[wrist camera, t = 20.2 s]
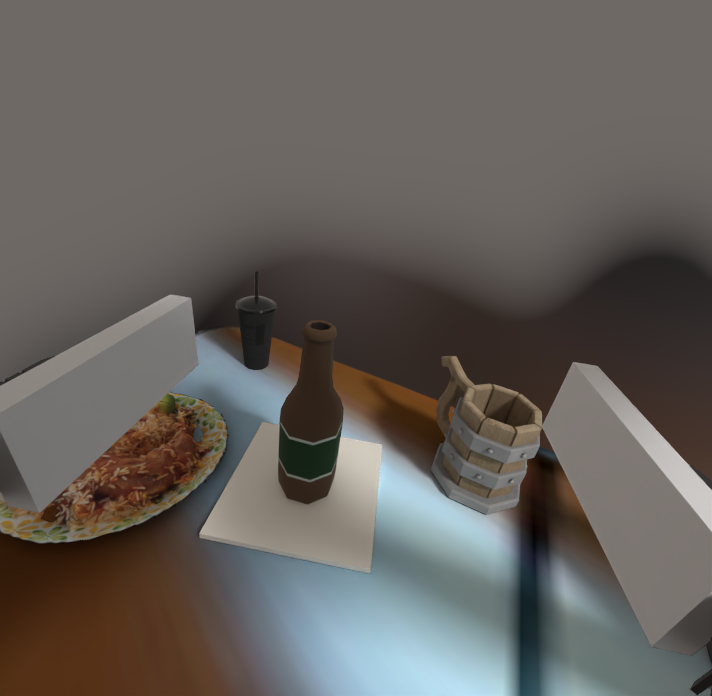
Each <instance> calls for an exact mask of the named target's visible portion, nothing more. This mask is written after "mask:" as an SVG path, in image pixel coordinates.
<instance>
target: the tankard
mask: <svg viewBox="0 0 712 696" xmlns="http://www.w3.org/2000/svg"><path fill="white" fill-rule="evenodd" d="M442 366H443V367H449V369H450V372H451V375H452V377H451V380H450V382H449V384H448V387H447V389H446V390H445V392H444V393H443V394H442V396H441V397H440V399H439V401H438V405H437V409H436V411H437V424H438V426H439V428H440V429H441V431H442V433H443V434H444V436H445V438H446V439H445V442H444V443H440V445H439V448H438V451H437V453H436V456H435V458H434V461H433V464H432V467H431V471H432V473H433V474H434V476H435V477H436V479H437V480H438V482H439V483H440V485H441V486H442V488H443V489H444V491H445V493H446V494H447V496H448V497H449V498H450V499H453V500H455V501H457V502H459V503H461V504H464V505H466V506H468V507H470V508H472V509H475V510H477V511H479V512H481V513H484V514H486V515H487V514H491V513H494V512H498V511H502V510H505V509H509V508H513V507H516V505H517V503H518V501H519V490H520V483H521V482H522V480H523V478H524V476H525V474H526V468H527V459H530V458H534V456H535V454H536V452H537V450H538V448H539V446H540V432H541V429H542V412H541V411H540V409H538V408H537V407H536V406H535V405H534V404H532V403H531V402H530V401H529V400H528V399H526V398H525V397H524V396H523V395H521V394H520V395H518V394H519V393H518V392H515V391H512V390H509V389H506V388H503V387H500V386H497V385H494V384H492V385H491V384H484V385H474V384H473V383H472V382H471V381H470V380H469V379H467V377H466V375H465V373H464V371H463V369H462V368H461V365H460V363H459V361H458V359H457V357H456V356H445V357H442ZM461 389H462V390H463V391H464V392H465V396H464V397H461V398H460V399H459V401H458V404H457V407H456V409H453V413H454V415H453V418H452V421H451V424H450V422H449V416H448V412H449V409H450V406H451V405H452V403H453V402H454V401H455V400H456V399H457V397H458V396H459V393H460V391H461Z"/></svg>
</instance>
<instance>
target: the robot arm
mask: <svg viewBox="0 0 712 696" xmlns="http://www.w3.org/2000/svg"><path fill="white" fill-rule="evenodd" d="M197 365H198V356H197V347H196V338H195V331H194V321H193V312H192V303H191V298H187V297H182V296H176V295H169V296H167V297H165V298H163V299H161V300H159V301H157V302H156V303H154V304H152V305H150V306H148V307H146V308H144V309H143V310H141V311H139V312H137V313H135V314H133V315H131V316H130V317H128V318H126V319H124V320H122V321H120V322H118V323H117V324H115V325H113V326H111V327H109V328H107V329H105V330H103V331H102V332H100V333H98V334H96V335H94V336H92V337H90V338H89V339H87V340H85V341H83V342H81V343H79V344H77V345H76V346H74V347H72V348H70V349H68V350H66V351H65V352H63V353H61V354H59V355H56V356H53V357H50V358H47V359H44V360H41V361H39V362H37V363H35V364H34V365H32V366H30V367H28V368H26V369H24V370H22V373H17V374H15V375H13V376H11V377H9V378H7V379H5V382H0V492H1V493H2V495H3V497H4V499H5V501H6V503H7V505H8V506H10V507H14V508H19V509H23V510H28V511H33V512H37V513H40V512H41V511H42V510H43V509H45V508H46V507H47V506H48V505H49V504H50V503H51V502H52V501H53V500H54V499H55V498H56V497H57V496H58V495H60V494H61V493H62V492H63V491H64V490H65V489H66V488H67V487H68V486H69V485H70V484H71V483H72V482H73V481H74V480H76V479H77V478H78V477H79V476H80V475H81V474H82V473H83V472H84V471H85V470H86V469H87V468H88V467H89V466H91V465H92V464H93V463H94V462H95V461H96V460H97V459H98V458H99V457H100V456H101V455H102V454H103V453H104V452H106V451H107V450H108V449H109V448H110V447H111V446H112V445H113V444H114V443H115V442H116V441H117V440H118V439H119V438H120V437H122V436H123V435H124V434H125V433H126V432H127V431H128V430H129V429H130V428H131V427H132V426H133V425H134V424H135V423H137V422H138V421H139V420H140V419H141V418H142V417H143V416H144V415H145V414H146V413H147V412H148V411H149V410H150V409H151V408H153V407H154V406H155V405H156V404H157V403H158V402H159V401H160V400H161V399H162V398H163V397H164V396H165V395H166V394H168V393H169V392H170V391H171V390H172V389H173V388H174V387H175V386H176V385H177V384H178V383H179V382H180V381H181V380H183V379H184V378H185V377H186V376H187V375H188V374H189V373H190V372H191V371H192V370H193V369H194V368H195V367H196V366H197ZM542 428H543V430H544V432H545V434H546V436H547V438H548V440H549V442H550V443H551V446H552V448H553V450H554V452H555V454H556V456H557V458H558V460H559V462H560V464H561V466H562V468H563V470H564V472H565V474H566V476H567V478H568V480H569V482H570V484H571V486H572V488H573V490H574V492H575V494H576V496H577V498H578V500H579V502H580V504H581V506H582V508H583V510H584V512H585V514H586V516H587V518H588V520H589V522H590V524H591V526H592V528H593V530H594V532H595V534H596V536H597V538H598V540H599V543H600V545H601V547H602V549H603V551H604V553H605V555H606V557H607V559H608V561H609V563H610V565H611V567H612V569H613V571H614V573H615V575H616V577H617V579H618V581H619V583H620V585H621V587H622V589H623V591H624V593H625V595H626V597H627V599H628V601H629V603H630V605H631V607H632V609H633V611H634V613H635V615H636V617H637V619H638V621H639V623H640V625H641V627H642V629H643V631H644V633H645V635H646V637H647V639H648V641H649V643H650V645H651V647H654V648H659V649H663V650H668V651H673V652H677V653H682V654H686V655H691V656H692V655H693V654H695V653H696V652H697V651H698V650H700V649H701V648H702V647H703V646H705V645H706V644H708V650H709V654H710V658H711V660H712V481H711V480H710V479H709V478H707V477H706V476H704V475H703V474H702V473H701V472H699V471H698V470H697V469H695V468H694V467H693V466H689V465H688V464H687V463H686V462H685V461H684V460H683V459H682V458H681V457H680V456H679V454H678V453H677V452H676V451H675V450H674V449H673V448H672V447H671V446H670V444H669V443H668V442H667V441H666V440H665V439H664V438H663V437H662V436H661V435H660V434H659V433H658V431H657V430H656V429H655V428H654V427H653V426H652V425H651V424H650V423H649V422H648V421H647V420H646V418H645V417H644V416H643V415H642V414H641V413H640V412H639V411H638V410H637V409H636V408H635V406H634V405H633V404H632V403H631V402H630V401H629V400H628V399H627V398H626V397H625V396H624V394H623V393H622V392H621V391H620V390H619V389H618V388H617V387H616V386H615V385H614V384H613V383H612V381H611V380H610V379H609V378H608V377H607V376H606V375H605V374H604V373H603V372H602V371H601V370H600V368H599V367H598V366H594V365H588V364H582V363H576V362H573V364H572V366H571V368H570V370H569V372H568V374H567V376H566V378H565V380H564V382H563V384H562V386H561V388H560V391H559V393H558V395H557V397H556V399H555V401H554V403H553V405H552V407H551V409H550V411H549V413H548V415H547V417H546V420H545V422H544V424H543V426H542ZM707 688H711V695H710V696H712V669H711V670H710V671H709V672H707V673H706V674H705V675H703V676H702V677H700V678H699V679H698V680H696V681H695V682H694V684H693V685H692V687H691V689H690V690H692V691H693V692H694V693H695V694H696V695H698V694H700V693H701V692H703V691H704V690H705V689H707Z"/></svg>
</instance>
